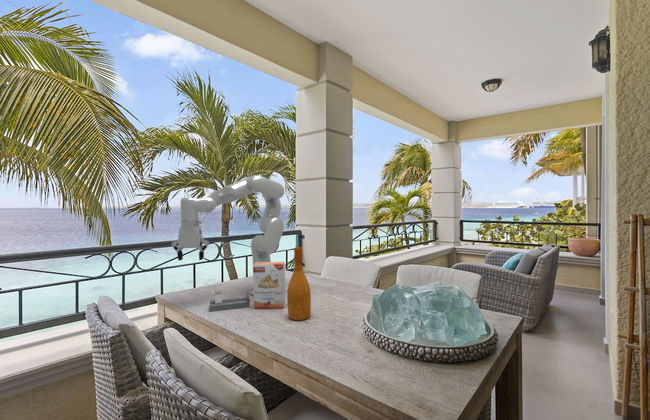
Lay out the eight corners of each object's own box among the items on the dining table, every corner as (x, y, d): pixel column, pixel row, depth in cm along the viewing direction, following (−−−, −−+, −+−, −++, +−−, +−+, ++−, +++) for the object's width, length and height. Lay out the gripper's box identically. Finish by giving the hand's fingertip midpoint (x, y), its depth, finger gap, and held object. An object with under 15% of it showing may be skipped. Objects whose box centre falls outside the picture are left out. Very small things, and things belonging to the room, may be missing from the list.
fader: (222, 301, 151) (222, 290, 151) (222, 304, 146) (221, 293, 146) (215, 302, 150) (215, 291, 150) (215, 305, 145) (214, 294, 145)
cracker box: (253, 309, 144) (252, 264, 144) (256, 305, 150) (255, 261, 150) (284, 308, 144) (282, 263, 144) (285, 304, 150) (284, 261, 150)
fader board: (248, 300, 157) (248, 292, 157) (250, 307, 147) (249, 298, 147) (210, 305, 151) (210, 296, 151) (209, 311, 142) (209, 303, 142)
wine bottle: (314, 314, 136) (312, 245, 135) (305, 322, 127) (304, 248, 126) (293, 312, 139) (292, 245, 139) (283, 320, 130) (282, 248, 129)
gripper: (211, 222, 151) (212, 258, 152) (174, 223, 151) (176, 258, 151) (205, 223, 144) (206, 260, 144) (167, 224, 143) (168, 261, 144)
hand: (190, 259), depth 148 cm, fingers open, 9 cm apart
